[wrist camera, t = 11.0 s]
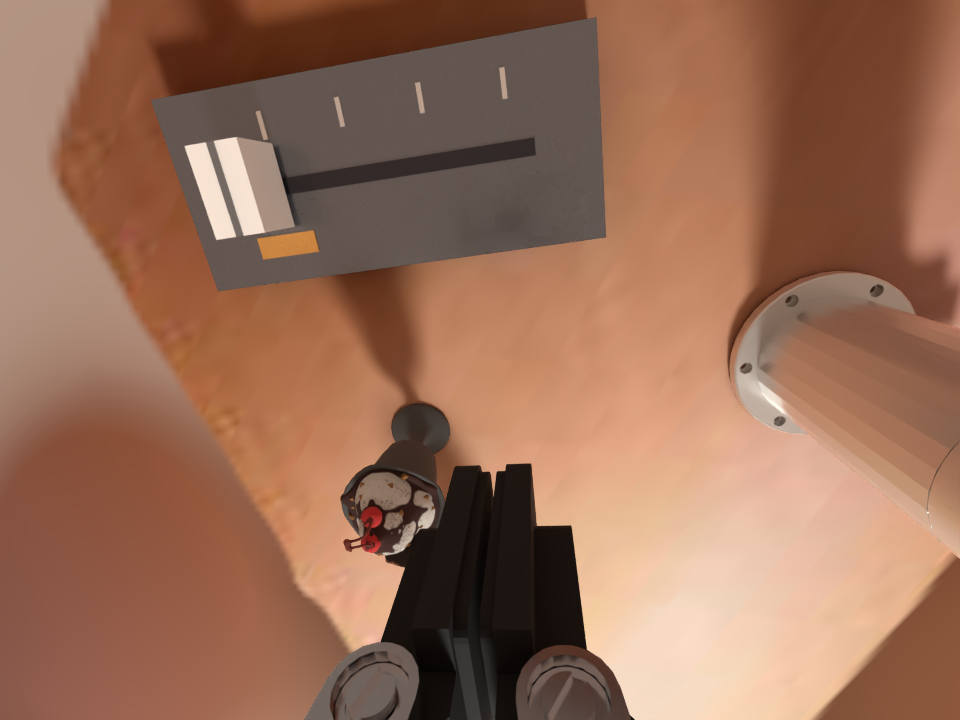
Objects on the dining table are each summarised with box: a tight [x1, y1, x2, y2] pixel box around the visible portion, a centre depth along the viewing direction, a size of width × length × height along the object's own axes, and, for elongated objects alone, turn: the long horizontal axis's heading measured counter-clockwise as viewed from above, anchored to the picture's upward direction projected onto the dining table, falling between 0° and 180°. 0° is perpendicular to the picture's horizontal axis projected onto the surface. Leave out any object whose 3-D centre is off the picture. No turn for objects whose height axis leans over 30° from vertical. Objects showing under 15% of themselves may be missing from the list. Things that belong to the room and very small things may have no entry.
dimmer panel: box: [151, 17, 606, 291], centre depth 30 cm, size 27×12×3 cm, turn 99°
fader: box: [185, 137, 295, 240], centre depth 27 cm, size 3×5×4 cm, turn 9°
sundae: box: [340, 404, 450, 567], centre depth 31 cm, size 7×7×15 cm
